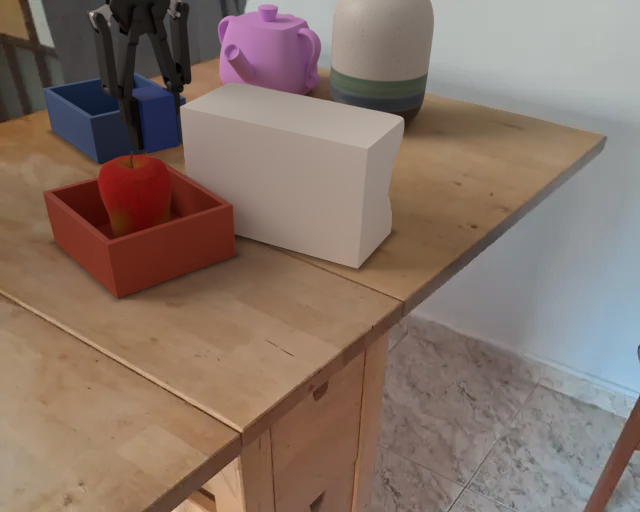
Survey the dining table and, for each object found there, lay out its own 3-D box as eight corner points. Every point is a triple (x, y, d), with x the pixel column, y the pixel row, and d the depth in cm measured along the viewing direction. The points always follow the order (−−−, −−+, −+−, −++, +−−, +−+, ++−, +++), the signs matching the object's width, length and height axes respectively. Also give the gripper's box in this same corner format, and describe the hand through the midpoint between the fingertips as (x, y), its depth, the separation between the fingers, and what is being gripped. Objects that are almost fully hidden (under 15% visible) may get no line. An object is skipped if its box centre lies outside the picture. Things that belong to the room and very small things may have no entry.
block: (130, 142, 99) (123, 90, 94) (160, 135, 101) (155, 84, 96) (148, 154, 96) (141, 101, 91) (179, 146, 98) (174, 94, 94)
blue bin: (52, 131, 116) (42, 88, 111) (139, 112, 124) (134, 71, 119) (98, 163, 107) (89, 118, 102) (189, 140, 115) (185, 97, 110)
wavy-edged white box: (409, 212, 98) (423, 102, 88) (357, 269, 86) (367, 149, 76) (257, 174, 106) (254, 69, 95) (190, 221, 94) (179, 107, 83)
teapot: (306, 73, 144) (308, -7, 134) (329, 106, 129) (332, 20, 119) (215, 75, 141) (210, -6, 131) (227, 110, 126) (222, 22, 116)
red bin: (55, 242, 88) (42, 191, 84) (167, 208, 96) (161, 160, 92) (117, 298, 79) (107, 245, 75) (235, 255, 87) (233, 204, 83)
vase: (310, 113, 126) (314, -43, 110) (383, 99, 134) (397, -50, 117) (364, 143, 116) (378, -23, 100) (440, 127, 124) (464, -31, 107)
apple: (171, 223, 91) (160, 133, 83) (184, 254, 86) (174, 159, 78) (105, 232, 89) (87, 140, 81) (114, 264, 83) (96, 168, 75)
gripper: (180, -63, 89) (193, 122, 105) (46, -54, 80) (83, 147, 96) (212, -54, 85) (221, 138, 101) (75, -43, 76) (109, 165, 92)
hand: (154, 142), depth 98 cm, fingers closed on block, 5 cm apart
